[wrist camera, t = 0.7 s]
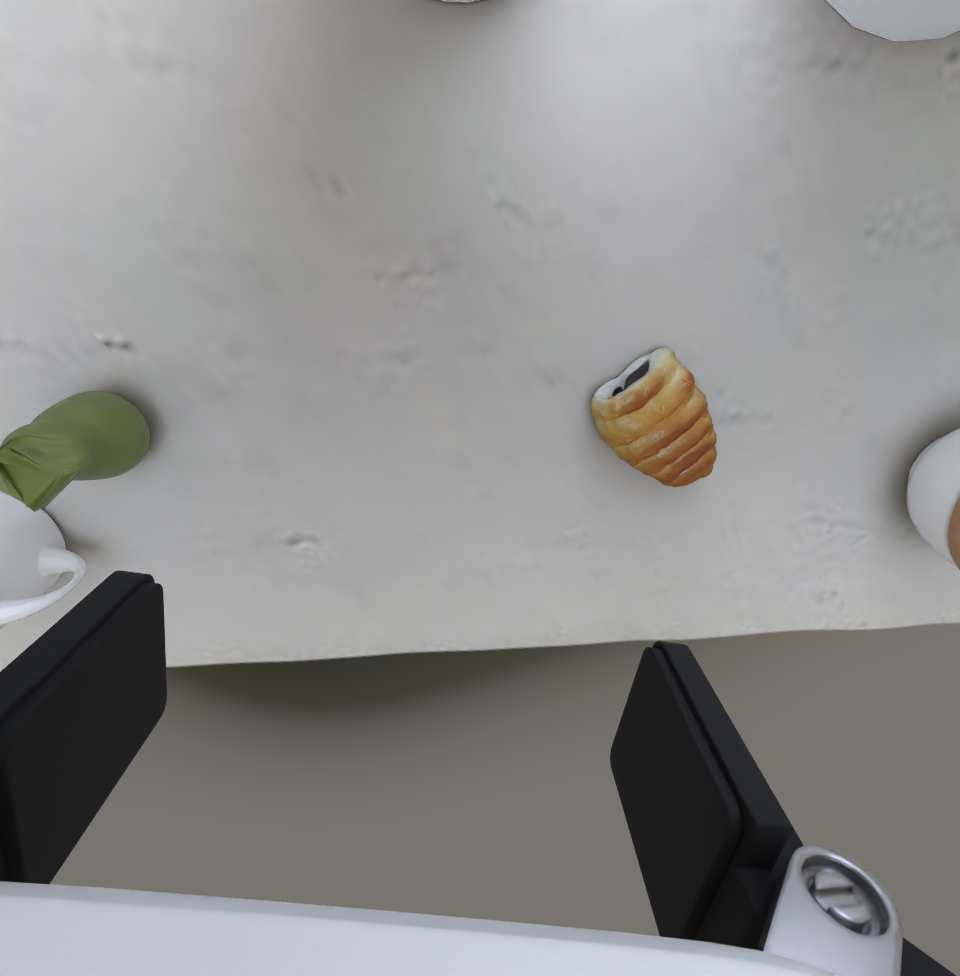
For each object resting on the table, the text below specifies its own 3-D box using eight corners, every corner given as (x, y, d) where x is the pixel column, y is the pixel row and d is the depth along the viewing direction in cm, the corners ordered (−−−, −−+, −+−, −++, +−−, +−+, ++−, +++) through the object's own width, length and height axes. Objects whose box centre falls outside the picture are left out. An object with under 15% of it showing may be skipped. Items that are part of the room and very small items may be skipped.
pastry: (732, 441, 40) (758, 460, 36) (651, 499, 41) (668, 523, 38) (659, 336, 37) (679, 345, 33) (574, 402, 38) (585, 418, 35)
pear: (115, 366, 37) (-2, 405, 27) (182, 426, 38) (92, 483, 29) (63, 420, 38) (-66, 475, 29) (130, 476, 40) (28, 546, 30)
